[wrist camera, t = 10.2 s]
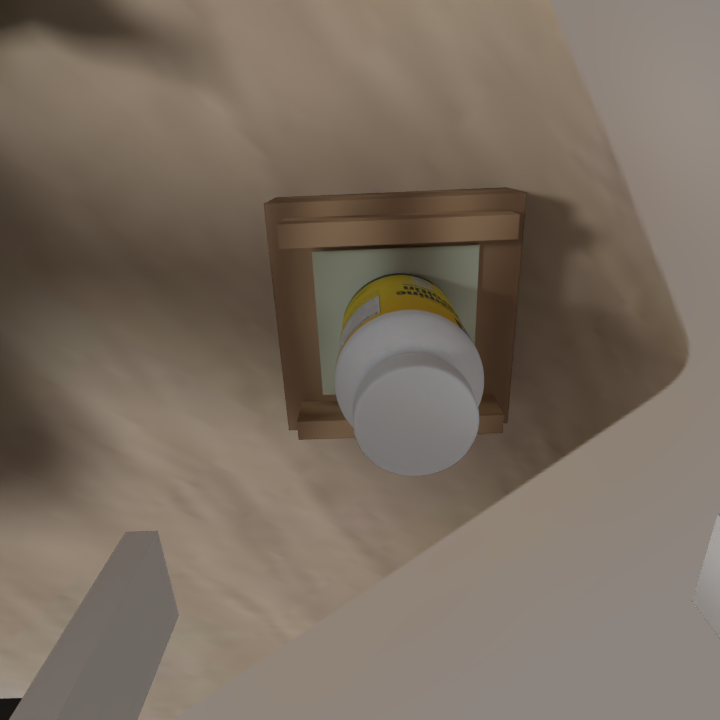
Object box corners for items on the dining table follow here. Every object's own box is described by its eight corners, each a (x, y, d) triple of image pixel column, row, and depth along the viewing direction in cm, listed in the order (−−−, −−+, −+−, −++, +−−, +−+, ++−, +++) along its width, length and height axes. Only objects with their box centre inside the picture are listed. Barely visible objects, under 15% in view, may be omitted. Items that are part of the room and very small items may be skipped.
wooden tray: (296, 401, 36) (283, 451, 30) (276, 197, 30) (254, 208, 24) (492, 394, 35) (518, 444, 29) (506, 187, 30) (541, 196, 24)
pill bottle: (471, 345, 29) (532, 456, 19) (374, 392, 31) (380, 521, 20) (423, 248, 27) (461, 310, 17) (321, 302, 28) (295, 393, 18)
